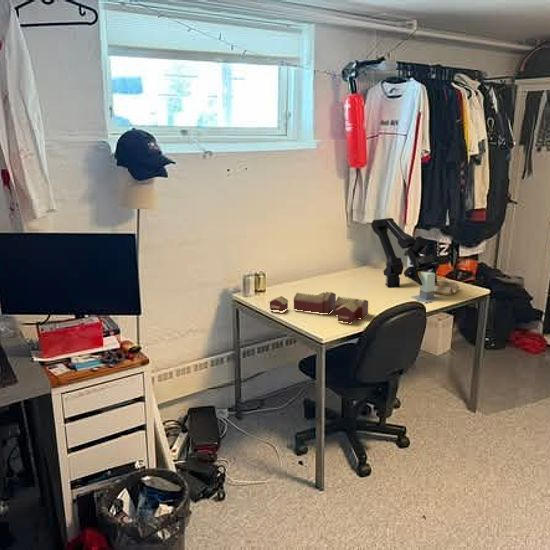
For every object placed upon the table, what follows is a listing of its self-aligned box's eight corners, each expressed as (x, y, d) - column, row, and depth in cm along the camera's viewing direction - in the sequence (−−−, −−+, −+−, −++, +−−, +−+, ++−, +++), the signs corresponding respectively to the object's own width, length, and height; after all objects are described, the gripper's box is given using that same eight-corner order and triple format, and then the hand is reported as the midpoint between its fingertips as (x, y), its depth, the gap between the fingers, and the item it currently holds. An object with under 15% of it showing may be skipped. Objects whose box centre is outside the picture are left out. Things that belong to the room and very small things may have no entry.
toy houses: (369, 313, 254) (370, 292, 251) (355, 327, 236) (355, 305, 234) (284, 301, 274) (283, 282, 272) (265, 314, 257) (264, 293, 254)
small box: (416, 279, 307) (416, 256, 304) (406, 277, 312) (407, 255, 308) (423, 276, 313) (424, 254, 309) (414, 274, 317) (414, 252, 314)
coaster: (410, 297, 274) (410, 296, 274) (427, 294, 278) (427, 293, 278) (425, 303, 264) (425, 302, 264) (442, 300, 268) (442, 299, 268)
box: (419, 297, 272) (420, 272, 269) (427, 295, 274) (428, 271, 271) (426, 299, 268) (427, 274, 264) (433, 298, 270) (435, 273, 266)
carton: (424, 294, 279) (424, 285, 278) (432, 286, 291) (432, 278, 290) (453, 297, 272) (453, 289, 271) (460, 290, 284) (460, 281, 283)
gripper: (408, 251, 264) (422, 278, 258) (438, 247, 272) (452, 272, 265) (397, 263, 273) (411, 289, 267) (426, 259, 281) (440, 284, 274)
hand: (429, 283), depth 268 cm, fingers open, 9 cm apart
